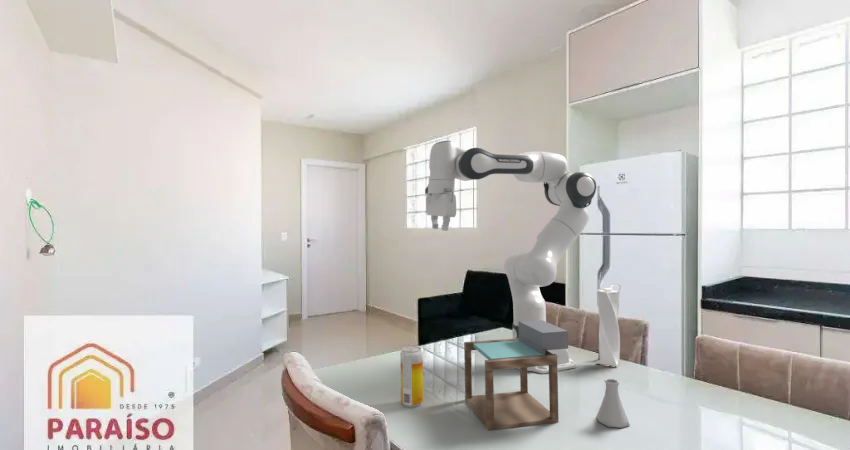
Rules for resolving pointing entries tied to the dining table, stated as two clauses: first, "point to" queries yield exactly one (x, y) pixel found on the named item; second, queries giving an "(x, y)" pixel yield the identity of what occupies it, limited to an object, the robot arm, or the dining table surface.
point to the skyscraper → (608, 326)
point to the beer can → (411, 376)
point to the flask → (612, 407)
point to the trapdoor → (527, 341)
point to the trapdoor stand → (511, 405)
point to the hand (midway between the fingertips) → (439, 229)
